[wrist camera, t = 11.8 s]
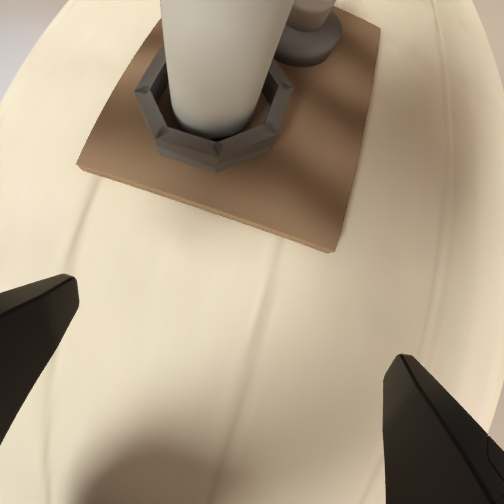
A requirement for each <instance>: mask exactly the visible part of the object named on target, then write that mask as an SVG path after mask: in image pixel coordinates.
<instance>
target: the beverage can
mask: <svg viewBox="0 0 504 504" xmlns="http://www.w3.org/2000/svg"><path fill="white" fill-rule="evenodd" d="M293 3H294V0H160V6H161V17H162V27H163V37H164V46H165V55H166V64H167V72H168V80H169V88H170V96H171V103H172V111H173V115H174V117H175V119H176V121H177V123H178V124H179V125H180V126H181V127H182V129H183V130H185V131H186V132H188V133H189V134H192V135H195V136H199V137H202V138H205V139H218V138H224V137H228V136H231V135H234V134H236V133H238V132H239V131H241V130H243V129H244V128H245V127H246V125H247V124H248V123H249V122H250V120H251V118H252V116H253V114H254V111H255V108H256V105H257V102H258V99H259V96H260V93H261V90H262V88H263V85H264V82H265V79H266V76H267V73H268V70H269V68H270V65H271V62H272V59H273V57H274V54H275V51H276V48H277V46H278V43H279V40H280V37H281V35H282V32H283V29H284V27H285V24H286V21H287V19H288V16H289V13H290V11H291V8H292V6H293Z"/></svg>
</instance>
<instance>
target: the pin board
mask: <svg viewBox="0 0 504 504" xmlns="http://www.w3.org/2000/svg"><path fill="white" fill-rule="evenodd" d="M335 1H336V0H294V3H293V6H292V8H291V11H290V13H289V16H288V19H287V21H286V24H285V27H284V29H283V32H282V35H281V37H280V40H279V43H278V46H277V48H276V51H275V54H274V57H273V59H272V62H271V65H270V68H269V70H268V73H267V76H266V79H265V82H264V85H263V88H262V90H261V93H260V96H259V99H258V102H257V105H256V108H255V111H254V114H253V116H252V118H251V120H250V122H249V123H248V124H247V125H246V127H245V128H244V129H243V130H241V131H239V132H238V133H236V134H234V135H231V136H228V137H224V138H218V139H205V138H202V137H199V136H195V135H192V134H189V133H188V132H186V131H185V130H183V129H182V127H181V126H180V125H179V124H178V123H177V121H176V119H175V117H174V115H173V111H172V103H171V96H170V88H169V80H168V72H167V64H166V55H165V46H164V37H163V27H162V17H161V19H160V20H159V21H158V23H157V24H156V26H155V27H154V28H153V30H152V31H151V32H150V34H149V35H148V37H147V38H146V40H145V41H144V42H143V44H142V45H141V47H140V48H139V50H138V51H137V53H136V54H135V56H134V57H133V59H132V61H131V62H130V64H129V65H128V67H127V68H126V70H125V72H124V73H123V75H122V77H121V78H120V80H119V82H118V83H117V85H116V87H115V88H114V90H113V92H112V94H111V95H110V97H109V99H108V101H107V102H106V104H105V106H104V108H103V110H102V112H101V113H100V115H99V117H98V119H97V121H96V123H95V125H94V127H93V129H92V131H91V133H90V135H89V137H88V139H87V141H86V143H85V145H84V147H83V150H82V152H81V154H80V156H79V158H78V160H77V163H76V164H77V165H78V166H79V167H80V168H81V169H82V170H83V171H86V172H90V173H93V174H96V175H99V176H102V177H105V178H109V179H112V180H115V181H118V182H121V183H124V184H127V185H130V186H134V187H137V188H140V189H143V190H146V191H149V192H152V193H155V194H158V195H161V196H164V197H167V198H170V199H173V200H176V201H179V202H182V203H185V204H188V205H191V206H194V207H197V208H200V209H203V210H206V211H209V212H212V213H215V214H218V215H221V216H224V217H226V218H229V219H232V220H235V221H238V222H241V223H244V224H247V225H250V226H253V227H255V228H258V229H261V230H264V231H267V232H270V233H273V234H275V235H278V236H281V237H284V238H287V239H289V240H292V241H295V242H298V243H301V244H303V245H306V246H309V247H312V248H315V249H317V250H320V251H323V252H326V253H330V252H335V249H336V246H337V242H338V238H339V235H340V231H341V227H342V223H343V219H344V215H345V211H346V207H347V203H348V199H349V195H350V191H351V187H352V182H353V178H354V174H355V169H356V165H357V160H358V155H359V151H360V146H361V141H362V136H363V131H364V126H365V121H366V116H367V111H368V105H369V100H370V94H371V88H372V82H373V76H374V70H375V64H376V57H377V50H378V43H379V36H380V28H379V27H377V26H375V25H373V24H371V23H369V22H367V21H365V20H363V19H361V18H359V17H356V16H354V15H352V14H350V13H348V12H345V11H343V10H341V9H339V8H336V7H334V6H333V5H334V3H335Z"/></svg>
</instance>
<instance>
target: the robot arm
mask: <svg viewBox="0 0 504 504" xmlns="http://www.w3.org/2000/svg"><path fill="white" fill-rule="evenodd" d="M78 307H79V294H78V286H77V280H76V278H75V277H73V276H70V275H67V274H60V275H56V276H53V277H50V278H47V279H43V280H40V281H37V282H34V283H30V284H27V285H24V286H21V287H18V288H15V289H11V290H8V291H5V292H2V293H0V445H1V443H2V441H3V439H4V437H5V435H6V433H7V431H8V430H9V428H10V426H11V424H12V422H13V420H14V419H15V417H16V415H17V413H18V411H19V410H20V408H21V406H22V404H23V403H24V401H25V399H26V398H27V396H28V394H29V392H30V391H31V389H32V387H33V386H34V384H35V382H36V381H37V379H38V378H39V376H40V374H41V373H42V371H43V370H44V368H45V366H46V365H47V363H48V362H49V360H50V358H51V357H52V355H53V354H54V352H55V350H56V349H57V347H58V345H59V343H60V342H61V340H62V338H63V336H64V334H65V332H66V330H67V328H68V326H69V324H70V322H71V321H72V319H73V317H74V315H75V313H76V311H77V309H78ZM383 444H384V460H385V485H386V504H504V451H503V450H502V449H501V448H500V447H499V446H498V445H497V444H496V443H495V442H494V440H493V439H492V438H491V437H490V436H488V434H487V433H486V432H485V431H484V430H483V429H482V427H481V426H480V425H479V424H478V423H477V422H476V421H475V420H474V419H473V418H472V417H471V416H470V415H469V414H468V413H467V411H466V410H465V409H464V408H463V407H462V406H461V405H460V404H459V403H458V402H457V401H456V400H455V399H454V398H453V397H452V396H451V395H450V394H449V393H448V392H447V391H446V389H445V388H444V387H443V386H442V385H441V384H440V383H439V382H438V381H437V380H436V379H435V378H434V377H433V376H432V375H431V374H430V373H429V372H428V371H427V370H426V369H425V368H424V367H423V366H422V365H421V364H420V363H419V362H418V361H417V360H416V359H415V358H414V357H413V356H412V355H407V354H398V355H397V356H396V357H395V359H394V361H393V362H392V364H391V366H390V367H389V369H388V371H387V372H386V374H385V376H384V380H383Z"/></svg>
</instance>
